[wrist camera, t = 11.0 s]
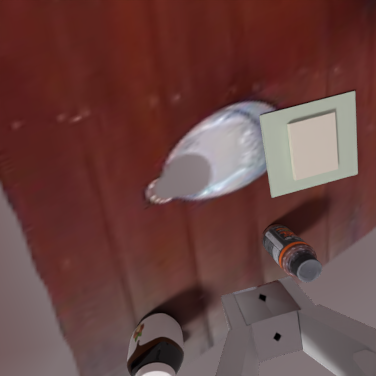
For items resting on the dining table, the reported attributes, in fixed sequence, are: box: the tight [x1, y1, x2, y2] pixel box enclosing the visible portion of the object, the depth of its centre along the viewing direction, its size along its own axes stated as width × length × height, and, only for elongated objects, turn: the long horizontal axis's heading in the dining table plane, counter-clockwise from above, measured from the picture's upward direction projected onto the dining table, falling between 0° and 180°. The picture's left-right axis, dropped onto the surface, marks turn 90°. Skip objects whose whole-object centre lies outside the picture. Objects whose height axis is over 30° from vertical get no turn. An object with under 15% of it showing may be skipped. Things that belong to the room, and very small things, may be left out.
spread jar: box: [127, 312, 184, 376], centre depth 42 cm, size 12×11×12 cm
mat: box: [259, 91, 358, 198], centre depth 40 cm, size 15×17×1 cm
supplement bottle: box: [262, 224, 322, 282], centre depth 39 cm, size 6×6×11 cm
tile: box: [287, 112, 338, 180], centre depth 40 cm, size 10×1×8 cm
